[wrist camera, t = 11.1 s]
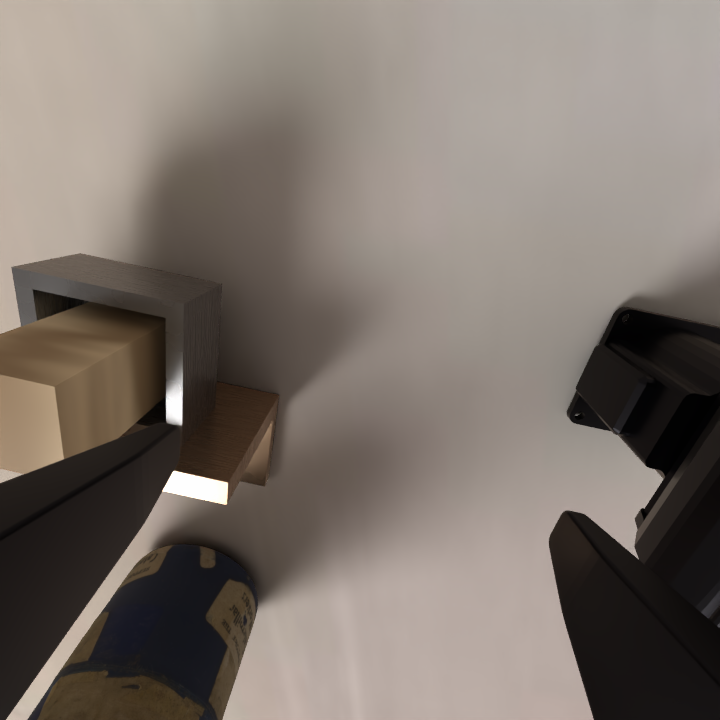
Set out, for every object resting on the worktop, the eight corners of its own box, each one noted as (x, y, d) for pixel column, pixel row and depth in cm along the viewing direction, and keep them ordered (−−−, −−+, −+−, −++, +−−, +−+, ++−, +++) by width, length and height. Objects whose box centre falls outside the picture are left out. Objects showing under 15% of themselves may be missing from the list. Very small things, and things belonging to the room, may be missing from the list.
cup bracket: (293, 284, 20) (239, 332, 13) (268, 477, 25) (220, 584, 18) (65, 235, 20) (-106, 258, 13) (86, 438, 25) (-29, 530, 19)
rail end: (179, 315, 18) (54, 386, 11) (178, 385, 19) (66, 483, 13) (100, 297, 18) (-69, 358, 11) (105, 369, 19) (-43, 459, 13)
